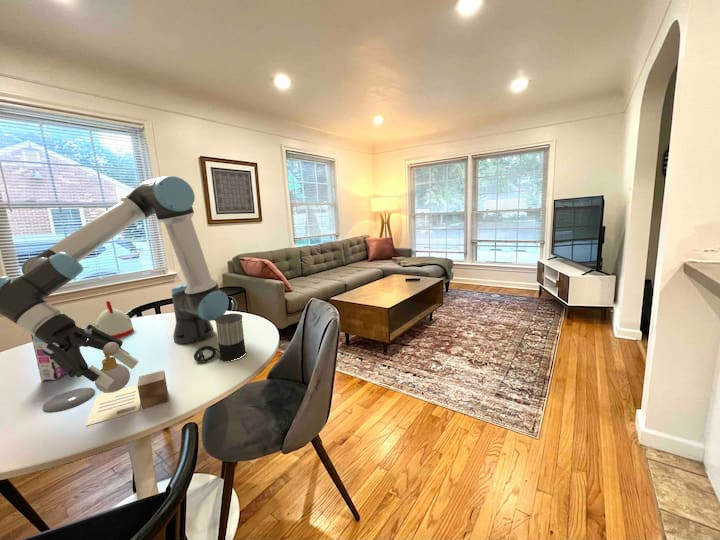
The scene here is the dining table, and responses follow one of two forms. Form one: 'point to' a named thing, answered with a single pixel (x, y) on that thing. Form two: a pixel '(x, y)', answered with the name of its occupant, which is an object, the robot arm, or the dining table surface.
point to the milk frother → (226, 339)
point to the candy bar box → (46, 362)
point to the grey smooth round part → (68, 399)
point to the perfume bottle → (113, 369)
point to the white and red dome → (114, 322)
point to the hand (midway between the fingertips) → (123, 374)
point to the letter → (115, 404)
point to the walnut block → (152, 389)
